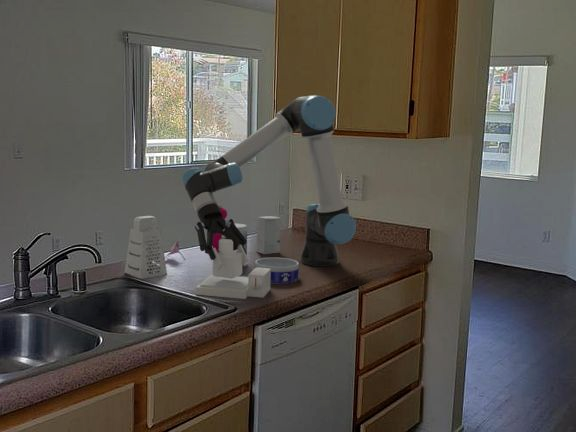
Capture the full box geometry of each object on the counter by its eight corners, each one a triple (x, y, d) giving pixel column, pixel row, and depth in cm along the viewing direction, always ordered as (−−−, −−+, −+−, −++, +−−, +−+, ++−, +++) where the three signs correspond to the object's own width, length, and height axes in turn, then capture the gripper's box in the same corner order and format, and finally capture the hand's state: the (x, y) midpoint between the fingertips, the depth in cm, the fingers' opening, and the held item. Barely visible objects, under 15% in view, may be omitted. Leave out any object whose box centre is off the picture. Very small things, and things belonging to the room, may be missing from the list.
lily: (178, 258, 257) (166, 237, 254) (200, 250, 251) (188, 229, 249) (163, 273, 247) (150, 252, 244) (186, 265, 241) (173, 243, 239)
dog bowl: (285, 272, 237) (286, 255, 236) (306, 282, 223) (306, 265, 222) (247, 275, 230) (248, 258, 229) (266, 286, 216) (266, 268, 215)
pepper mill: (229, 251, 268) (230, 203, 265) (225, 254, 261) (226, 205, 258) (212, 249, 269) (213, 202, 266) (207, 253, 262) (208, 204, 259)
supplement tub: (251, 264, 245) (252, 226, 243) (228, 267, 240) (229, 228, 237) (238, 259, 253) (239, 222, 251) (216, 261, 248) (217, 224, 245)
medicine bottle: (222, 271, 213) (223, 235, 211) (242, 274, 210) (243, 238, 208) (212, 276, 206) (213, 239, 204) (232, 279, 204) (233, 241, 202)
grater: (167, 274, 227) (167, 217, 223) (141, 278, 219) (141, 220, 216) (150, 268, 234) (150, 213, 231) (124, 272, 226) (124, 216, 223)
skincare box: (263, 254, 263) (264, 218, 261) (255, 251, 268) (256, 216, 266) (280, 252, 268) (281, 217, 266) (272, 249, 273) (273, 215, 271)
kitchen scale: (272, 287, 214) (272, 266, 213) (261, 300, 199) (261, 278, 198) (211, 282, 218) (211, 261, 217) (195, 294, 203) (196, 272, 202)
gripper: (230, 213, 224) (256, 267, 215) (173, 218, 210) (198, 276, 201) (239, 200, 219) (266, 255, 210) (182, 204, 205) (208, 262, 196)
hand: (233, 265), depth 205 cm, fingers closed on medicine bottle, 9 cm apart
